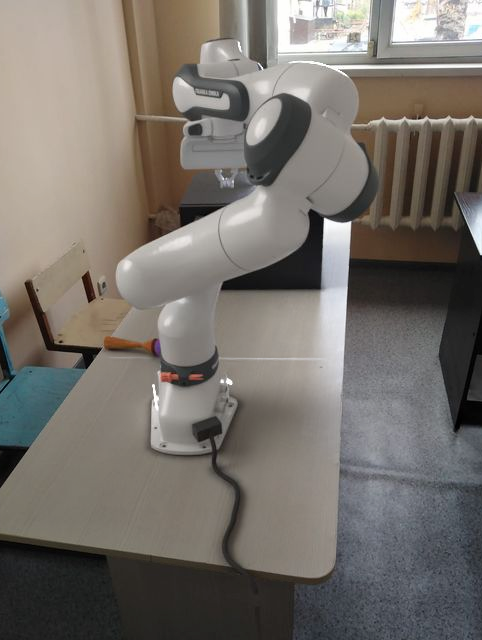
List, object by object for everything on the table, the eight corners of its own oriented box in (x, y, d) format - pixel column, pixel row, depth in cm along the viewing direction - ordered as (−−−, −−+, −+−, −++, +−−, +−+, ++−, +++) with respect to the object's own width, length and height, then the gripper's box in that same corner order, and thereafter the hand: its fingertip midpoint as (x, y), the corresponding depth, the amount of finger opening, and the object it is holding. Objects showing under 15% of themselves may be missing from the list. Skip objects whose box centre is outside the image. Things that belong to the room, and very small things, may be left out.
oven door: (321, 298, 155) (326, 210, 141) (184, 298, 159) (175, 213, 145) (320, 287, 161) (324, 202, 147) (188, 287, 165) (179, 205, 151)
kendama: (112, 327, 140) (181, 332, 133) (115, 349, 142) (184, 355, 135) (99, 335, 134) (171, 341, 128) (102, 357, 137) (173, 364, 130)
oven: (320, 287, 161) (324, 201, 147) (188, 287, 165) (179, 204, 151) (315, 244, 188) (318, 168, 173) (201, 246, 192) (195, 172, 177)
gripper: (272, 119, 119) (272, 182, 127) (180, 122, 121) (186, 184, 129) (271, 125, 114) (271, 190, 121) (175, 128, 116) (182, 192, 123)
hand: (227, 187), depth 125 cm, fingers closed
